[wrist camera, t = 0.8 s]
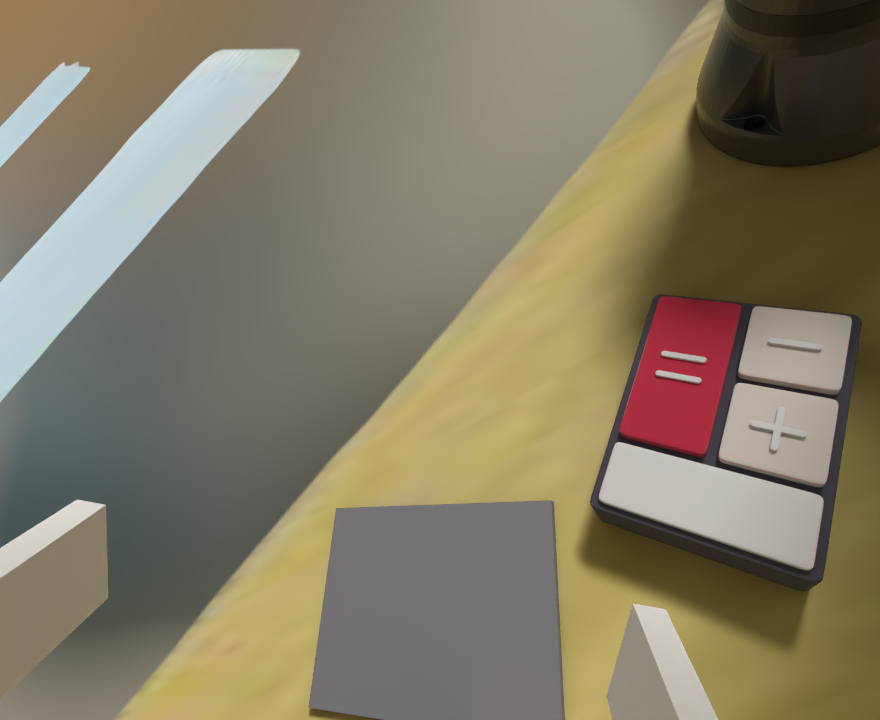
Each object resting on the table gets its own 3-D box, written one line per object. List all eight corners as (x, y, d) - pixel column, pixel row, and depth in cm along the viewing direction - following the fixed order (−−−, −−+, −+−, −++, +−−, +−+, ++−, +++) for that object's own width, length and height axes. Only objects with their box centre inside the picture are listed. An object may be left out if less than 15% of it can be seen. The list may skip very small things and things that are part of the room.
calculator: (867, 306, 27) (826, 585, 22) (848, 345, 30) (809, 595, 26) (653, 285, 33) (585, 503, 28) (657, 320, 36) (596, 519, 32)
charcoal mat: (553, 502, 33) (551, 500, 32) (566, 746, 27) (563, 748, 27) (340, 509, 40) (336, 508, 39) (314, 706, 34) (308, 707, 33)
